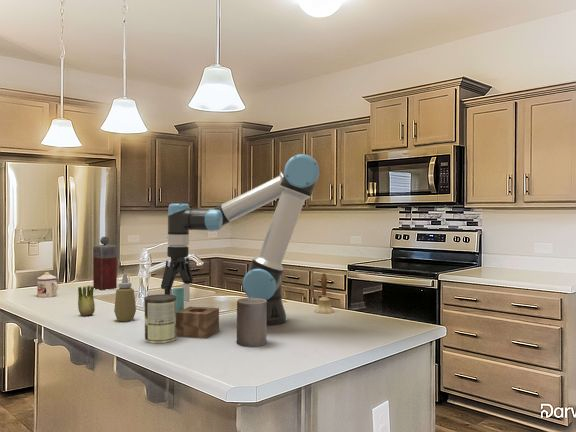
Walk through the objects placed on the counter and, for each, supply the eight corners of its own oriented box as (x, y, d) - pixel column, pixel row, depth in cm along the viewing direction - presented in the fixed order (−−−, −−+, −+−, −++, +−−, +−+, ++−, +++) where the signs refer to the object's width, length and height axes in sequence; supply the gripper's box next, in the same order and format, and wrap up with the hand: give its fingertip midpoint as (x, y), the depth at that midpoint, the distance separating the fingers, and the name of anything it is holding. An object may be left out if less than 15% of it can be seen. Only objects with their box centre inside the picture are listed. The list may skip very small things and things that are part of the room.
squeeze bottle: (129, 323, 195) (129, 275, 194) (110, 322, 196) (109, 274, 196) (139, 318, 203) (139, 272, 202) (121, 317, 204) (120, 272, 204)
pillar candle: (230, 342, 166) (230, 296, 166) (253, 337, 173) (253, 292, 173) (249, 348, 159) (250, 300, 159) (273, 342, 166) (273, 296, 166)
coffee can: (137, 340, 170) (137, 297, 169) (163, 334, 178) (163, 293, 177) (157, 345, 163) (156, 300, 163) (182, 338, 171) (182, 296, 171)
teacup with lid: (32, 296, 253) (32, 272, 253) (49, 293, 261) (48, 270, 261) (49, 298, 248) (48, 274, 247) (65, 295, 256) (65, 272, 255)
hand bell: (323, 314, 211) (323, 275, 211) (310, 311, 218) (310, 273, 218) (338, 312, 216) (338, 273, 216) (325, 308, 223) (325, 271, 223)
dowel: (185, 326, 190) (185, 288, 189) (180, 328, 186) (180, 289, 186) (175, 325, 191) (175, 287, 191) (170, 327, 187) (170, 289, 187)
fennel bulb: (76, 316, 207) (76, 286, 207) (84, 313, 212) (84, 284, 212) (88, 317, 205) (88, 287, 205) (96, 314, 210) (96, 285, 210)
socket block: (218, 330, 183) (218, 308, 182) (206, 338, 172) (206, 314, 172) (190, 328, 185) (190, 306, 185) (176, 336, 175) (176, 312, 175)
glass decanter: (106, 286, 287) (106, 235, 286) (116, 288, 279) (116, 236, 279) (91, 288, 280) (90, 236, 280) (101, 290, 272) (101, 237, 272)
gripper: (184, 243, 201) (183, 298, 201) (151, 248, 177) (150, 309, 177) (202, 244, 199) (201, 299, 199) (171, 248, 175) (170, 311, 175)
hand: (177, 304), depth 188 cm, fingers open, 13 cm apart
